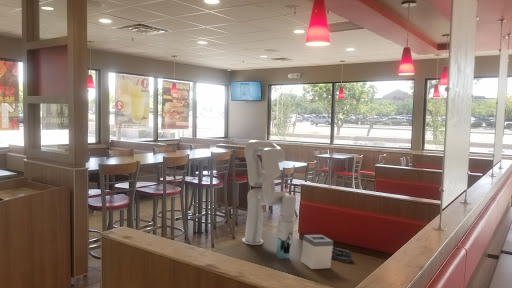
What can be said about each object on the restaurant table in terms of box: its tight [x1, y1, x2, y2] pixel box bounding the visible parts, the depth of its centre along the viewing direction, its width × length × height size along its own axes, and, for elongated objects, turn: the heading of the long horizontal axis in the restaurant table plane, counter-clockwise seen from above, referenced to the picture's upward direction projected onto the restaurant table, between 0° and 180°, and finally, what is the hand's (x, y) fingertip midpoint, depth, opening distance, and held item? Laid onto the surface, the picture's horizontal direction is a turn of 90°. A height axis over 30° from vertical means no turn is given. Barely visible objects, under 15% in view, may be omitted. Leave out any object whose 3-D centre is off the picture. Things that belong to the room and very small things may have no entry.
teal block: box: [275, 238, 290, 260], centre depth 211 cm, size 3×6×10 cm, turn 113°
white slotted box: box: [300, 234, 334, 270], centre depth 205 cm, size 11×11×14 cm
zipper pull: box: [331, 246, 353, 264], centre depth 223 cm, size 9×7×25 cm
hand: (283, 250), depth 211 cm, fingers open, 6 cm apart
